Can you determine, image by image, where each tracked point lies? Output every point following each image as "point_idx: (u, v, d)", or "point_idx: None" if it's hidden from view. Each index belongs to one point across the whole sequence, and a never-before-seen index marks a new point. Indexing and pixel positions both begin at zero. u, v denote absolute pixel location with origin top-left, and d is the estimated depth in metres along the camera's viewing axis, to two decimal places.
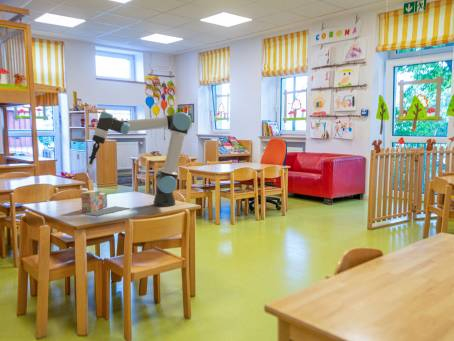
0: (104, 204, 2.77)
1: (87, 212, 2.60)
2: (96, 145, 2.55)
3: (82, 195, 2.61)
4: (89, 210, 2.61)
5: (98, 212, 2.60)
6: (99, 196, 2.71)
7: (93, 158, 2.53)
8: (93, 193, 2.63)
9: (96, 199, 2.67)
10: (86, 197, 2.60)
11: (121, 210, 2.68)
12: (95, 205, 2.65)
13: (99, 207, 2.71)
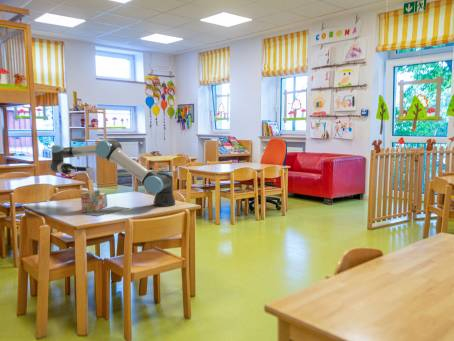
0: (104, 204, 2.77)
1: (87, 212, 2.60)
2: (61, 169, 2.79)
3: (82, 195, 2.61)
4: (89, 210, 2.61)
5: (98, 212, 2.60)
6: (99, 196, 2.71)
7: (63, 169, 2.72)
8: (93, 193, 2.63)
9: (96, 199, 2.67)
10: (85, 198, 2.60)
11: (121, 210, 2.68)
12: (94, 205, 2.65)
13: (99, 207, 2.71)
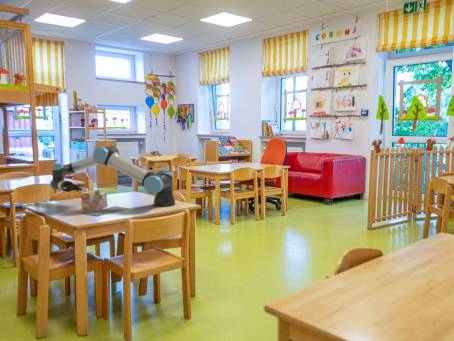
0: (104, 204, 2.77)
1: (87, 212, 2.60)
2: (64, 188, 2.80)
3: (82, 195, 2.61)
4: (89, 210, 2.61)
5: (98, 212, 2.60)
6: (99, 196, 2.71)
7: (74, 187, 2.77)
8: (93, 193, 2.63)
9: (96, 199, 2.67)
10: (85, 198, 2.60)
11: (121, 210, 2.68)
12: (94, 205, 2.65)
13: (99, 207, 2.71)
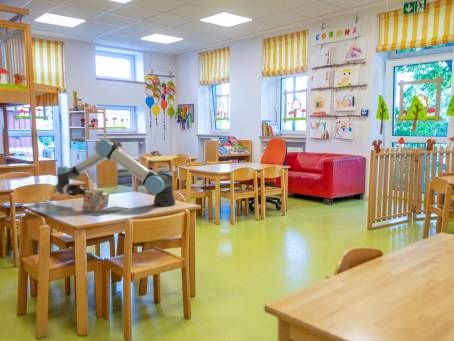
0: (105, 204, 2.77)
1: (87, 212, 2.60)
2: (70, 192, 2.75)
3: (85, 194, 2.60)
4: (89, 210, 2.61)
5: (98, 212, 2.60)
6: (101, 196, 2.71)
7: (80, 191, 2.72)
8: (96, 193, 2.63)
9: (98, 199, 2.67)
10: (88, 197, 2.60)
11: (121, 210, 2.68)
12: (96, 205, 2.65)
13: (99, 207, 2.71)
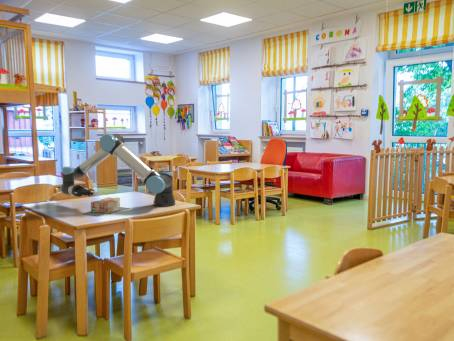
0: None
1: (87, 212, 2.60)
2: (75, 192, 2.72)
3: (106, 204, 2.58)
4: (92, 210, 2.60)
5: (98, 212, 2.60)
6: None
7: (85, 192, 2.69)
8: None
9: None
10: (104, 208, 2.58)
11: (121, 210, 2.68)
12: None
13: None
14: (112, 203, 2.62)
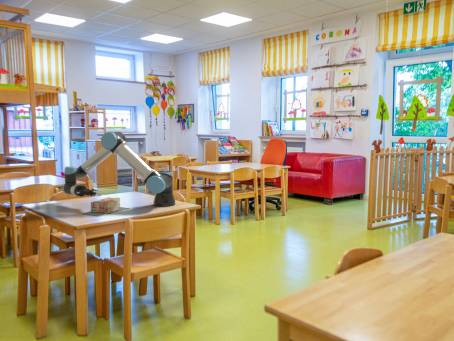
0: None
1: (87, 212, 2.60)
2: (78, 192, 2.71)
3: (106, 204, 2.58)
4: (92, 210, 2.60)
5: (98, 212, 2.60)
6: None
7: (88, 192, 2.68)
8: None
9: None
10: (104, 208, 2.58)
11: (121, 210, 2.68)
12: None
13: None
14: (112, 203, 2.62)
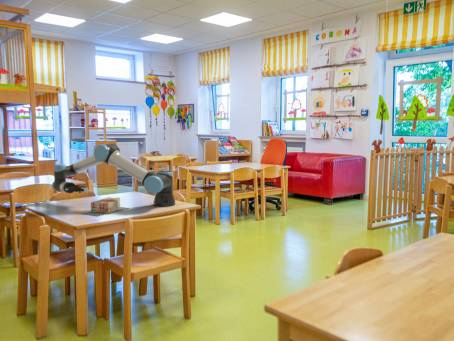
0: None
1: (87, 212, 2.60)
2: (66, 189, 2.79)
3: (106, 204, 2.58)
4: (92, 210, 2.60)
5: (98, 212, 2.60)
6: None
7: (76, 188, 2.76)
8: None
9: None
10: (104, 208, 2.58)
11: (121, 210, 2.68)
12: None
13: None
14: (112, 203, 2.62)
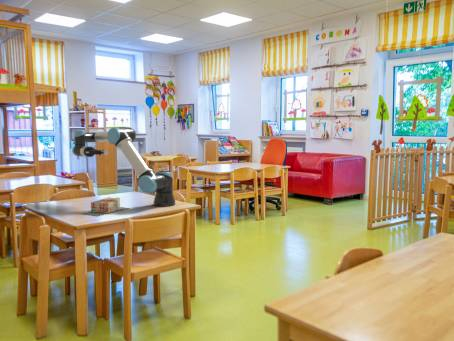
0: None
1: (87, 212, 2.60)
2: (87, 152, 2.93)
3: (106, 204, 2.58)
4: (92, 210, 2.60)
5: (98, 212, 2.60)
6: None
7: (97, 151, 2.90)
8: None
9: None
10: (104, 208, 2.58)
11: (121, 210, 2.68)
12: None
13: None
14: (112, 203, 2.62)
